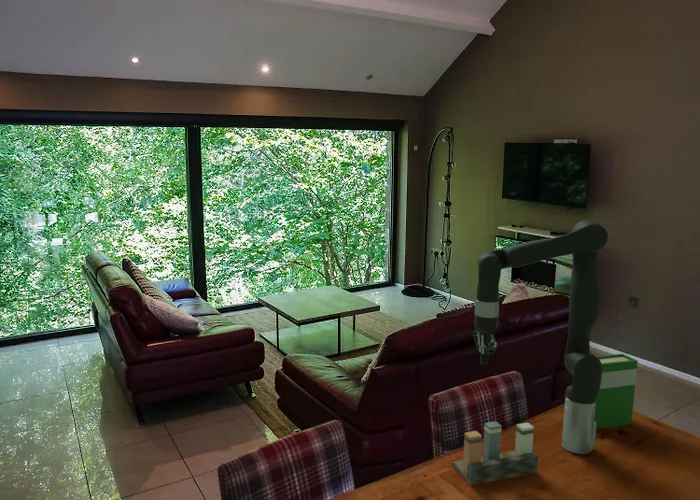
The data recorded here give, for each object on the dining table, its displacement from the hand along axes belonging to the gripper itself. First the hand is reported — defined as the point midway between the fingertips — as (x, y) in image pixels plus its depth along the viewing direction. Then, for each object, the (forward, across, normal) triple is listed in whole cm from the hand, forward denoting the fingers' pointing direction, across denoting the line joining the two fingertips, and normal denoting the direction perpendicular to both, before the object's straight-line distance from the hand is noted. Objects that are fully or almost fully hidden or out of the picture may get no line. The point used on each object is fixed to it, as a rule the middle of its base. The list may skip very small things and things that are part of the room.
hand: (484, 363), depth 185 cm
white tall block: (+25, -19, -4) cm, 32 cm away
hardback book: (+27, -2, -50) cm, 57 cm away
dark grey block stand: (+27, -18, +6) cm, 33 cm away
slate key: (+25, -16, +6) cm, 30 cm away
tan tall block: (+25, -19, +15) cm, 35 cm away
